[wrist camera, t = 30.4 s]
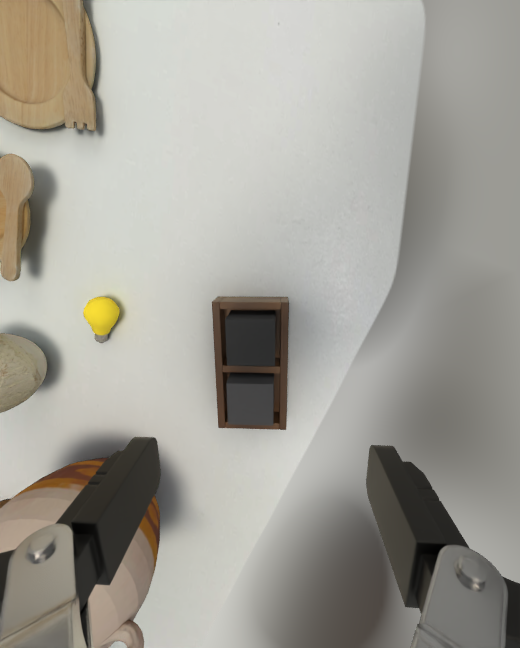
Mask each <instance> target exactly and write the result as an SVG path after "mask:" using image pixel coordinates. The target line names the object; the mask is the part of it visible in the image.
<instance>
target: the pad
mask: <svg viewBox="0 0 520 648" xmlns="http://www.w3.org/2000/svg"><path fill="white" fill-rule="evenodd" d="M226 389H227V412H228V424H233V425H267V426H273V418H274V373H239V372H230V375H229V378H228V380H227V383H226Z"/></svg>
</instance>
